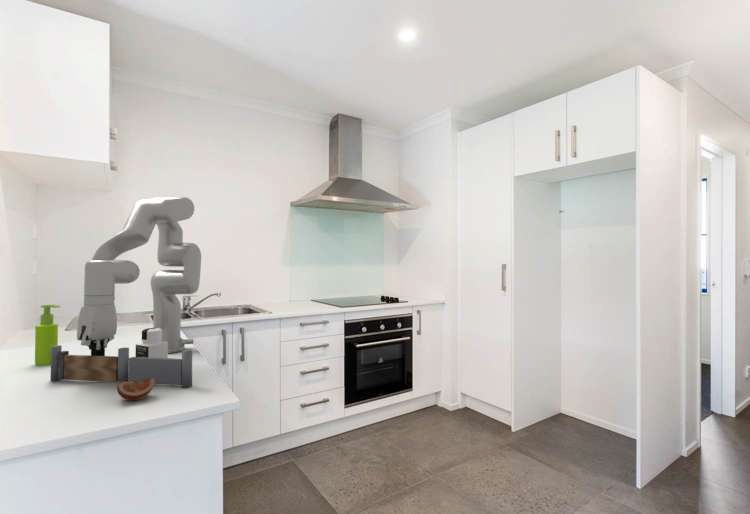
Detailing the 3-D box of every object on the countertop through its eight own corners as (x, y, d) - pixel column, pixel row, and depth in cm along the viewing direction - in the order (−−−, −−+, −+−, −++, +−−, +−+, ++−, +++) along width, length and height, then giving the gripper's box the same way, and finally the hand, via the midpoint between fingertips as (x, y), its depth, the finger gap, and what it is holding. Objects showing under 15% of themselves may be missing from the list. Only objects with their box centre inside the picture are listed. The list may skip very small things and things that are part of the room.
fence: (193, 385, 109) (194, 349, 109) (188, 388, 107) (188, 351, 107) (56, 378, 115) (56, 345, 115) (47, 381, 112) (48, 347, 112)
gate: (120, 380, 112) (120, 352, 112) (115, 382, 110) (115, 354, 110) (63, 378, 114) (63, 350, 114) (57, 379, 112) (58, 352, 112)
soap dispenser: (50, 365, 130) (51, 305, 130) (30, 365, 130) (30, 305, 130) (64, 361, 135) (65, 304, 136) (45, 361, 136) (46, 304, 136)
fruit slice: (153, 392, 103) (153, 374, 103) (157, 400, 98) (157, 380, 98) (115, 399, 98) (116, 379, 98) (117, 407, 93) (118, 386, 93)
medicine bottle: (134, 364, 131) (135, 329, 131) (155, 360, 137) (155, 326, 138) (147, 367, 128) (148, 331, 128) (168, 362, 134) (168, 327, 134)
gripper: (108, 299, 125) (106, 356, 124) (65, 303, 110) (63, 368, 109) (129, 299, 124) (127, 357, 123) (89, 303, 109) (87, 369, 108)
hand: (97, 362), depth 116 cm, fingers closed
